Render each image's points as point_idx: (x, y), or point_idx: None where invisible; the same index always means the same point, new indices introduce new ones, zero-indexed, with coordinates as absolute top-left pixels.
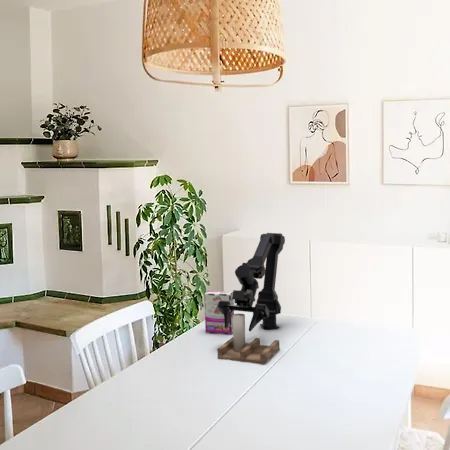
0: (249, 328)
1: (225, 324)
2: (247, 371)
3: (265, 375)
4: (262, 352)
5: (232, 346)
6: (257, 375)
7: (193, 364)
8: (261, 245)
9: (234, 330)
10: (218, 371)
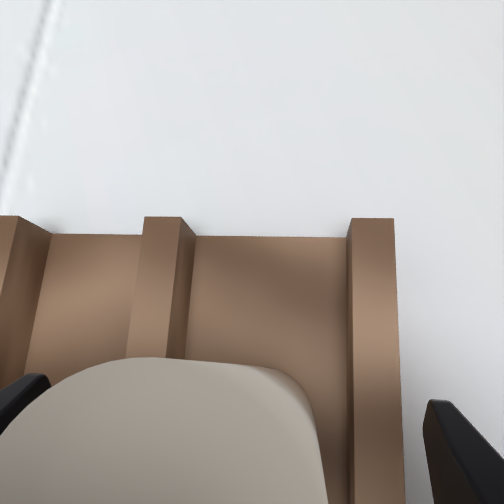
0: (19, 385)
1: (469, 438)
2: (115, 107)
3: (12, 92)
4: (5, 252)
5: (348, 480)
6: (52, 78)
7: (484, 90)
8: None
9: (269, 375)
10: (275, 52)
